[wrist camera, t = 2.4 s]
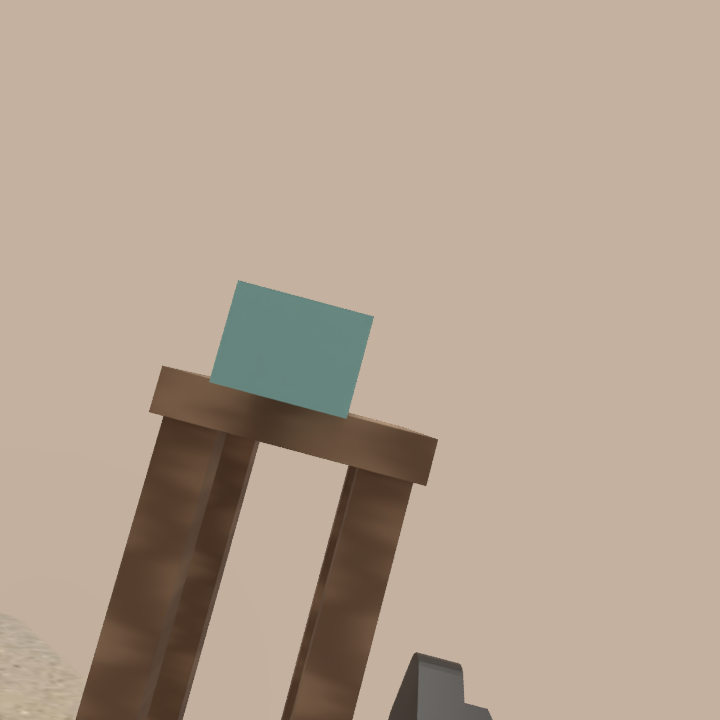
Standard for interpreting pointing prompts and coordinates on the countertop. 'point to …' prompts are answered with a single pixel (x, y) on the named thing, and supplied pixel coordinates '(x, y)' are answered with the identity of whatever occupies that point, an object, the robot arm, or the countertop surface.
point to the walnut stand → (214, 537)
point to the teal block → (291, 349)
